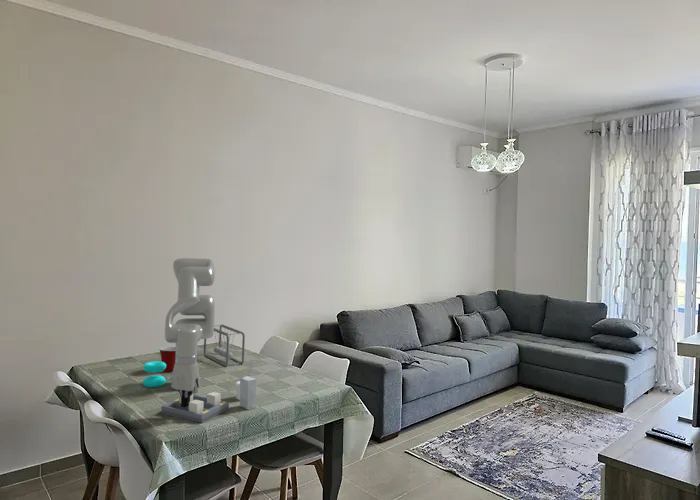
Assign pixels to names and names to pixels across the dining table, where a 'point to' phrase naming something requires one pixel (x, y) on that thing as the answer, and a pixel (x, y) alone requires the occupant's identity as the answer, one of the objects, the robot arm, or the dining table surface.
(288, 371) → the dining table surface
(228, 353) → the newton's cradle
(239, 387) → the grey cylinder
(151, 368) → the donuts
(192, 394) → the tab middle
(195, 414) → the switch bank
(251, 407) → the skincare box
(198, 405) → the white cube
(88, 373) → the dining table surface
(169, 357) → the plastic cup
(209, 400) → the tab inner
